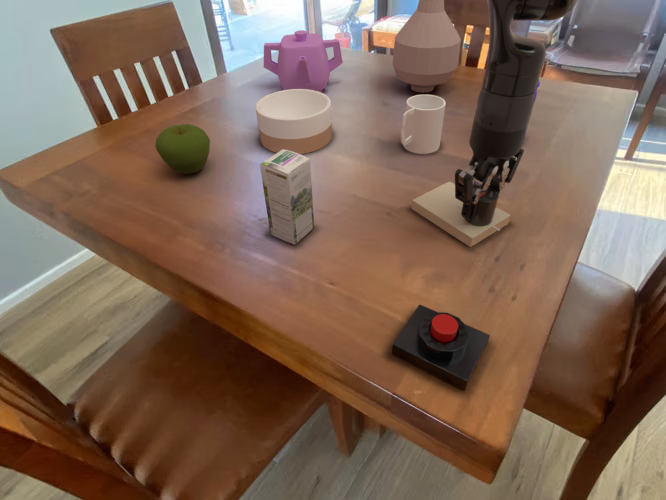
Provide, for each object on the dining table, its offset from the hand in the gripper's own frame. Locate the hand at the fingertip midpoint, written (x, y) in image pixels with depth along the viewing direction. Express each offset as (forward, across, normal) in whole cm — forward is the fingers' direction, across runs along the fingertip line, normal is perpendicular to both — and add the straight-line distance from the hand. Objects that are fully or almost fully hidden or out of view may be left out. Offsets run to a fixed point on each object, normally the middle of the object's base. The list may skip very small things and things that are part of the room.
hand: (478, 211), depth 74 cm
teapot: (+4, +13, +74) cm, 75 cm away
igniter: (+3, -24, -14) cm, 28 cm away
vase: (+4, +38, +51) cm, 63 cm away
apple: (+4, -32, +51) cm, 60 cm away
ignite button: (-1, -24, -14) cm, 28 cm away
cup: (+4, +12, +27) cm, 30 cm away
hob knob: (+1, 0, 0) cm, 1 cm away
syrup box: (+4, -26, +19) cm, 32 cm away
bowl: (+4, -6, +49) cm, 49 cm away
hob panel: (+3, 0, +4) cm, 5 cm away
